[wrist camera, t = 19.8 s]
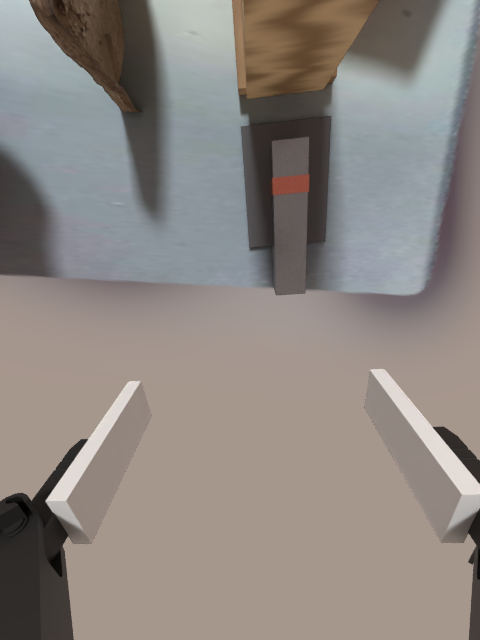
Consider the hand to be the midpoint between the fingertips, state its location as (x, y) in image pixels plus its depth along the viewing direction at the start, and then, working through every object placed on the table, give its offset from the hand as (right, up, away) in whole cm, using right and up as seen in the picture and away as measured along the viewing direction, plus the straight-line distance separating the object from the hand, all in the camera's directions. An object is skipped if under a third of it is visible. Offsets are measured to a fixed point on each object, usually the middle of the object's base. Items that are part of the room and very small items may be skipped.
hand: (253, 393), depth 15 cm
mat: (+6, +24, +23) cm, 34 cm away
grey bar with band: (+6, +19, +24) cm, 32 cm away
